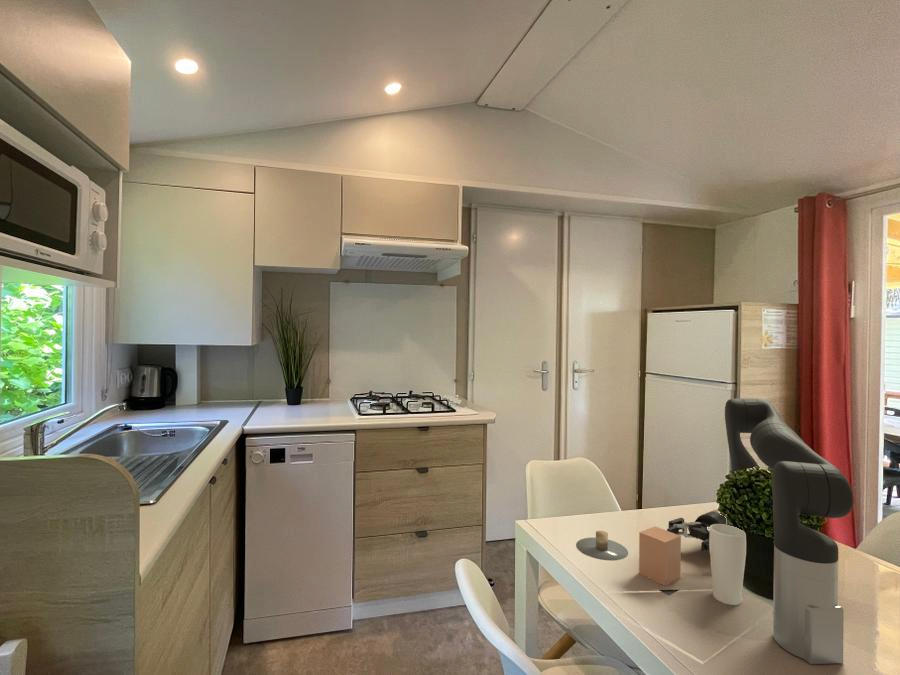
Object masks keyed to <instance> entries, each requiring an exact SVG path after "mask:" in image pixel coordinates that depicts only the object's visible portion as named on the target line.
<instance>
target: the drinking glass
mask: <svg viewBox="0 0 900 675" xmlns="http://www.w3.org/2000/svg"><path fill="white" fill-rule="evenodd" d="M709 549H710V551H709V557H710V571H711V584H712V588H711V589H712V592H711V593H712V596H713V598H714V599H715V600H716V601H718V602H721V603H722V604H725V605H729V606H739V605H741V604H742V603H743V602H742V600H743V599H742V598H743V596H742V595H743V584H744V575H745V567H746V557H747V534H746V532H745V530H741V529H739V528H737V527H734V526H730V525H725V524H713V525H711V526H710V532H709Z"/></svg>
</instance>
